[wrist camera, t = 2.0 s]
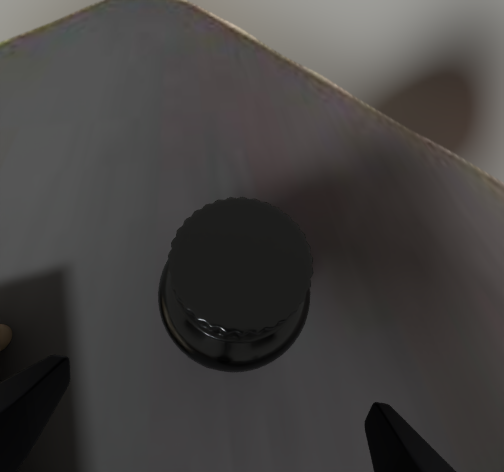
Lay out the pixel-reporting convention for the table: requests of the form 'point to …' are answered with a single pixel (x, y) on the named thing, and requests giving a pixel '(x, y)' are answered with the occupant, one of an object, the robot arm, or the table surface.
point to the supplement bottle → (236, 285)
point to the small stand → (5, 336)
